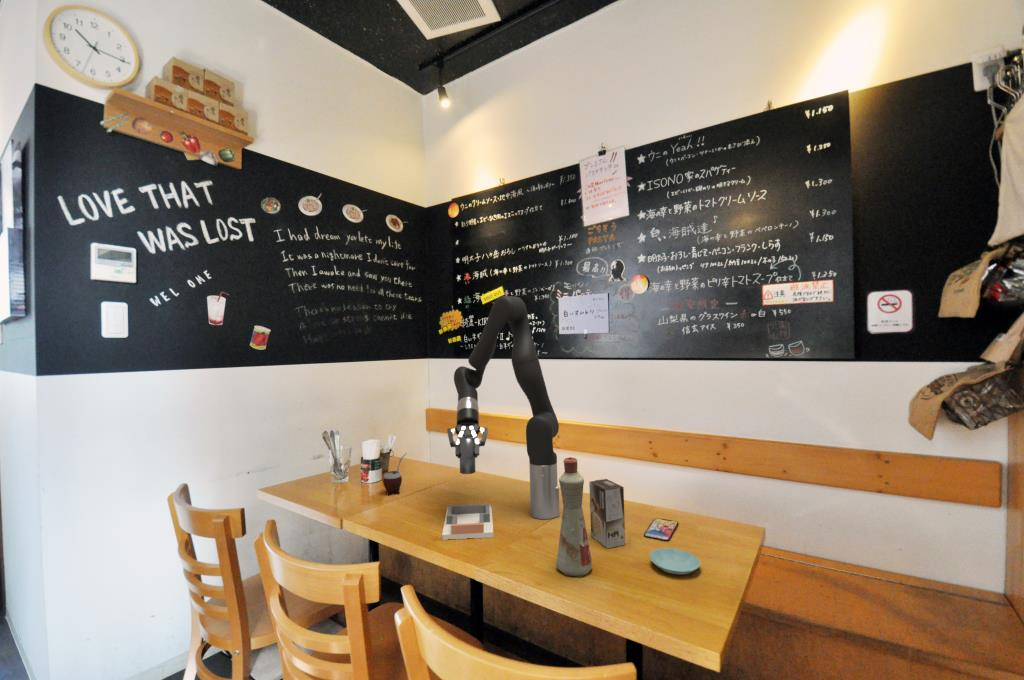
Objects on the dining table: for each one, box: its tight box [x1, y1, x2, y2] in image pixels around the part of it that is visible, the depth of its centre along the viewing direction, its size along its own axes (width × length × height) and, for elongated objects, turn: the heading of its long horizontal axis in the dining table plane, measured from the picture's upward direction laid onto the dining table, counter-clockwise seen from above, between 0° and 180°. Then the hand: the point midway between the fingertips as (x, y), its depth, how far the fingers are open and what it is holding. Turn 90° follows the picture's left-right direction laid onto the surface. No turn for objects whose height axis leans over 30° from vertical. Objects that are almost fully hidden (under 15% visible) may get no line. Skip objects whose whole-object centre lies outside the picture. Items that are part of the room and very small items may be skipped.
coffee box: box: [588, 478, 626, 549], centre depth 126 cm, size 9×6×16 cm
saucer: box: [649, 547, 701, 576], centre depth 110 cm, size 12×12×2 cm
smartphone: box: [643, 517, 680, 543], centre depth 133 cm, size 7×1×15 cm
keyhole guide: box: [441, 503, 494, 541], centre depth 140 cm, size 15×22×4 cm
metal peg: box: [459, 436, 476, 475], centre depth 142 cm, size 5×5×11 cm
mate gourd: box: [382, 452, 407, 496], centre depth 173 cm, size 8×8×15 cm
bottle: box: [555, 456, 593, 577], centre depth 111 cm, size 9×9×28 cm
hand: (467, 456), depth 141 cm, fingers closed on metal peg, 5 cm apart
